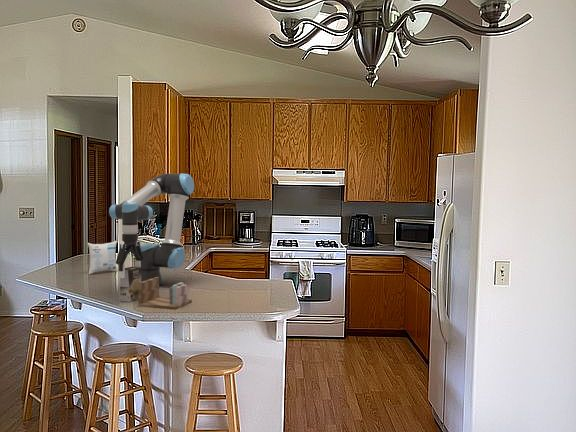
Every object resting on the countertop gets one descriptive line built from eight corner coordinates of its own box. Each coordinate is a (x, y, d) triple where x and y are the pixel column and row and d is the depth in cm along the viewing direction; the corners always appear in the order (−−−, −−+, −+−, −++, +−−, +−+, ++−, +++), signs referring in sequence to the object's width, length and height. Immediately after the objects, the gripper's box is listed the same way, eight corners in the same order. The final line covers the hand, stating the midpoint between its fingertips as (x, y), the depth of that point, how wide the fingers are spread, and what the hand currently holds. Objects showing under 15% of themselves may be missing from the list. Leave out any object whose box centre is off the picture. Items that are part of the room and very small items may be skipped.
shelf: (156, 298, 278) (156, 277, 277) (191, 302, 272) (191, 279, 271) (138, 306, 263) (138, 282, 262) (175, 309, 257) (175, 285, 256)
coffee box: (130, 302, 270) (129, 270, 269) (119, 301, 273) (119, 269, 271) (141, 298, 279) (141, 267, 277) (131, 297, 281) (131, 266, 280)
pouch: (120, 272, 351) (119, 241, 349) (89, 275, 339) (89, 243, 337) (115, 270, 357) (115, 240, 355) (85, 273, 345) (85, 242, 344)
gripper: (137, 230, 286) (137, 271, 287) (107, 235, 262) (108, 279, 264) (150, 231, 284) (150, 272, 285) (121, 235, 260) (121, 280, 261)
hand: (130, 275), depth 274 cm, fingers open, 13 cm apart
